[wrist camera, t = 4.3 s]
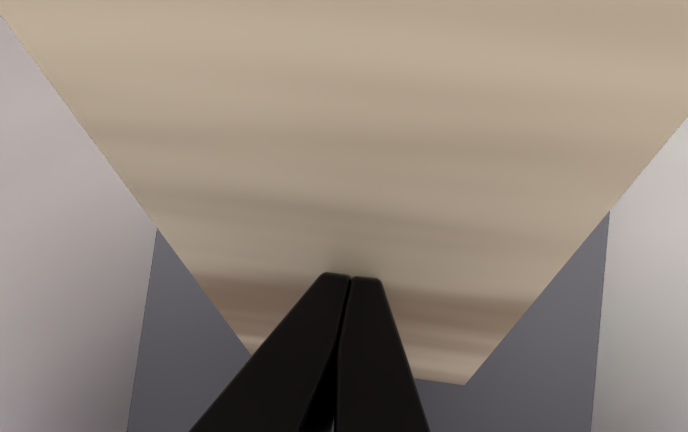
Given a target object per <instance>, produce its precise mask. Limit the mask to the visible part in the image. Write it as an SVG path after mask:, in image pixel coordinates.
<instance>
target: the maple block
mask: <svg viewBox="0 0 688 432" xmlns="http://www.w3.org/2000/svg"><path fill="white" fill-rule="evenodd" d="M0 15H1V17H2V18H3V20H4V21H5V22H6V24H7V25H8V26H9V28H10V29H11V30H12V32H13V33H14V34H15V36H16V37H17V39H18V40H19V41H20V43H21V44H22V45H23V47H24V48H25V49H26V51H27V52H28V53H29V55H30V56H31V57H32V59H33V60H34V62H35V63H36V64H37V66H38V67H39V68H40V70H41V71H42V72H43V74H44V75H45V76H46V78H47V79H48V81H49V82H50V83H51V85H52V86H53V87H54V89H55V90H56V91H57V93H58V94H59V95H60V97H61V98H62V100H63V101H64V102H65V104H66V105H67V106H68V108H69V109H70V110H71V112H72V113H73V114H74V116H75V117H76V118H77V120H78V121H79V123H80V124H81V125H82V127H83V128H84V129H85V131H86V132H87V133H88V135H89V136H90V137H91V139H92V140H93V142H94V143H95V144H96V146H97V147H98V148H99V150H100V151H101V152H102V154H103V155H104V156H105V158H106V159H107V160H108V162H109V163H110V165H111V166H112V167H113V169H114V170H115V171H116V173H117V174H118V175H119V177H120V178H121V179H122V181H123V182H124V184H125V185H126V186H127V188H128V189H129V190H130V192H131V193H132V194H133V196H134V197H135V198H136V200H137V201H138V203H139V204H140V205H141V207H142V208H143V209H144V211H145V212H146V213H147V215H148V216H149V217H150V219H151V220H152V221H153V223H154V224H155V226H156V227H157V228H158V230H159V231H160V232H161V234H162V235H163V236H164V238H165V239H166V240H167V242H168V243H169V245H170V246H171V247H172V249H173V250H174V251H175V253H176V254H177V255H178V257H179V258H180V259H181V261H182V262H183V263H184V265H185V266H186V268H187V269H188V270H189V272H190V273H191V274H192V276H193V277H194V278H195V280H196V281H197V282H198V284H199V285H200V287H201V288H202V289H203V291H204V292H205V293H206V295H207V296H208V297H209V299H210V300H211V301H212V303H213V304H214V306H215V307H216V308H217V310H218V311H219V312H220V314H221V315H222V316H223V318H224V319H225V320H226V322H227V323H228V324H229V326H230V327H231V329H232V330H233V331H234V333H235V334H236V335H237V337H238V338H239V339H240V341H241V342H242V343H243V345H244V346H245V348H246V349H247V350H248V352H249V353H250V354H251V355H253V354H254V352H255V351H256V350H257V349H258V348H259V346H260V345H261V344H262V343H263V342H264V340H265V339H266V338H267V337H268V336H269V335H270V333H271V332H272V331H273V330H274V329H275V327H276V326H277V325H278V324H279V323H280V322H281V320H282V319H283V318H284V317H285V316H286V314H287V313H288V312H289V311H290V310H291V308H292V307H293V306H294V305H295V304H296V303H297V301H298V300H299V299H300V298H301V297H302V295H303V294H304V293H305V292H306V291H307V289H308V288H309V287H310V286H311V285H312V284H313V282H314V281H315V280H316V279H317V278H318V277H319V275H321V274H322V273H324V272H329V273H337V274H345V275H348V276H349V277H350V278H351V279H352V278H353V277H355V276H361V277H369V278H376V279H379V280H380V281H381V282H382V284H383V287H384V290H385V293H386V296H387V299H388V302H389V305H390V308H391V311H392V314H393V317H394V320H395V323H396V326H397V329H398V332H399V335H400V338H401V341H402V344H403V347H404V350H405V353H406V356H407V359H408V362H409V365H410V368H411V371H412V374H413V377H414V378H417V379H424V380H431V381H438V382H445V383H452V384H459V385H465V384H466V383H467V382H468V380H469V379H470V378H471V377H472V376H473V374H474V373H475V372H476V371H477V370H478V368H479V367H480V366H481V365H482V364H483V362H484V361H485V360H486V359H487V358H488V356H489V355H490V354H491V353H492V352H493V350H494V349H495V348H496V347H497V345H498V344H499V343H500V342H501V341H502V339H503V338H504V337H505V336H506V335H507V333H508V332H509V331H510V330H511V329H512V327H513V326H514V325H515V324H516V323H517V321H518V320H519V319H520V318H521V317H522V315H523V314H524V313H525V312H526V311H527V309H528V308H529V307H530V306H531V305H532V303H533V302H534V301H535V300H536V299H537V297H538V296H539V295H540V294H541V293H542V291H543V290H544V289H545V288H546V287H547V285H548V284H549V283H550V282H551V280H552V279H553V278H554V277H555V276H556V274H557V273H558V272H559V271H560V270H561V268H562V267H563V266H564V265H565V264H566V262H567V261H568V260H569V259H570V258H571V256H572V255H573V254H574V253H575V252H576V250H577V249H578V248H579V247H580V246H581V244H582V243H583V242H584V241H585V240H586V238H587V237H588V236H589V235H590V234H591V232H592V231H593V230H594V229H595V228H596V226H597V225H598V224H599V223H600V222H601V220H602V219H603V218H604V217H605V215H606V214H607V213H608V212H609V211H610V209H611V208H612V207H613V206H614V205H615V203H616V202H617V201H618V200H619V199H620V197H621V196H622V195H623V194H624V193H625V191H626V190H627V189H628V188H629V187H630V185H631V184H632V183H633V182H634V181H635V179H636V178H637V177H638V176H639V175H640V173H641V172H642V171H643V170H644V169H645V167H646V166H647V165H648V164H649V163H650V161H651V160H652V159H653V158H654V157H655V155H656V154H657V153H658V152H659V150H660V149H661V148H662V147H663V146H664V144H665V143H666V142H667V141H668V140H669V138H670V137H671V136H672V135H673V134H674V132H675V131H676V130H677V129H678V128H679V126H680V125H681V124H682V123H683V122H684V120H685V119H686V118H687V117H688V0H0Z"/></svg>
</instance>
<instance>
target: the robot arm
mask: <svg viewBox="0 0 688 432" xmlns="http://www.w3.org/2000/svg"><path fill="white" fill-rule="evenodd" d="M333 422H334V432H432V431H431V428H430V425H429V422H428V419H427V416H426V413H425V410H424V407H423V404H422V401H421V398H420V395H419V392H418V389H417V386H416V383H415V380H414V377H413V374H412V371H411V368H410V365H409V362H408V359H407V356H406V353H405V350H404V347H403V344H402V341H401V338H400V335H399V332H398V329H397V326H396V323H395V320H394V317H393V314H392V311H391V308H390V305H389V302H388V299H387V296H386V293H385V290H384V287H383V284H382V282H381V281H380V280H379V279H376V278H369V277H361V276H355V277H353V278H352V279H351V278H350V277H349V276H348V275H345V274H337V273H329V272H324V273H322V274H321V275H319V277H318V278H317V279H316V280H315V281H314V282H313V284H312V285H311V286H310V287H309V288H308V289H307V291H306V292H305V293H304V294H303V295H302V297H301V298H300V299H299V300H298V301H297V303H296V304H295V305H294V306H293V307H292V308H291V310H290V311H289V312H288V313H287V314H286V316H285V317H284V318H283V319H282V320H281V322H280V323H279V324H278V325H277V326H276V327H275V329H274V330H273V331H272V332H271V333H270V335H269V336H268V337H267V338H266V339H265V340H264V342H263V343H262V344H261V345H260V346H259V348H258V349H257V350H256V351H255V352H254V354H253V355H252V356H251V357H250V358H249V359H248V361H247V362H246V363H245V364H244V365H243V367H242V368H241V369H240V370H239V371H238V372H237V374H236V375H235V376H234V377H233V378H232V380H231V381H230V382H229V383H228V384H227V386H226V387H225V388H224V389H223V390H222V391H221V393H220V394H219V395H218V396H217V397H216V399H215V400H214V401H213V402H212V403H211V405H210V406H209V407H208V408H207V409H206V410H205V412H204V413H203V414H202V415H201V416H200V418H199V419H198V420H197V421H196V422H195V423H194V425H193V426H192V427H191V428H190V429H189V431H188V432H331V431H332V427H333Z"/></svg>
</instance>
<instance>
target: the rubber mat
mask: <svg viewBox="0 0 688 432" xmlns="http://www.w3.org/2000/svg"><path fill="white" fill-rule="evenodd" d="M609 213H610V211H609V212H608V213H607V214H606V215H605V217H604V218H603V219H602V220H601V222H600V223H599V224H598V225H597V226H596V228H595V229H594V230H593V231H592V232H591V234H590V235H589V236H588V237H587V238H586V240H585V241H584V242H583V243H582V244H581V246H580V247H579V248H578V249H577V250H576V252H575V253H574V254H573V255H572V256H571V258H570V259H569V260H568V261H567V262H566V264H565V265H564V266H563V267H562V268H561V270H560V271H559V272H558V273H557V274H556V276H555V277H554V278H553V279H552V280H551V282H550V283H549V284H548V285H547V287H546V288H545V289H544V290H543V291H542V293H541V294H540V295H539V296H538V297H537V299H536V300H535V301H534V302H533V303H532V305H531V306H530V307H529V308H528V309H527V311H526V312H525V313H524V314H523V315H522V317H521V318H520V319H519V320H518V321H517V323H516V324H515V325H514V326H513V327H512V329H511V330H510V331H509V332H508V333H507V335H506V336H505V337H504V338H503V339H502V341H501V342H500V343H499V344H498V345H497V347H496V348H495V349H494V350H493V352H492V353H491V354H490V355H489V356H488V358H487V359H486V360H485V361H484V362H483V364H482V365H481V366H480V367H479V368H478V370H477V371H476V372H475V373H474V374H473V376H472V377H471V378H470V379H469V380H468V382H467V383H466V384H465V385H459V384H452V383H445V382H438V381H431V380H424V379H417V378H414V380H415V383H416V386H417V389H418V392H419V395H420V398H421V401H422V404H423V407H424V410H425V413H426V416H427V419H428V422H429V425H430V428H431V431H432V432H591V421H592V410H593V398H594V387H595V375H596V364H597V352H598V341H599V329H600V317H601V306H602V294H603V283H604V271H605V260H606V248H607V237H608V225H609ZM251 356H252V355H251V354H250V353H249V352H248V350H247V349H246V348H245V346H244V345H243V343H242V342H241V341H240V339H239V338H238V337H237V335H236V334H235V333H234V331H233V330H232V329H231V327H230V326H229V324H228V323H227V322H226V320H225V319H224V318H223V316H222V315H221V314H220V312H219V311H218V310H217V308H216V307H215V306H214V304H213V303H212V301H211V300H210V299H209V297H208V296H207V295H206V293H205V292H204V291H203V289H202V288H201V287H200V285H199V284H198V282H197V281H196V280H195V278H194V277H193V276H192V274H191V273H190V272H189V270H188V269H187V268H186V266H185V265H184V263H183V262H182V261H181V259H180V258H179V257H178V255H177V254H176V253H175V251H174V250H173V249H172V247H171V246H170V245H169V243H168V242H167V240H166V239H165V238H164V236H163V235H162V234H161V232H160V231H159V230H158V228H157V233H156V239H155V246H154V253H153V259H152V266H151V273H150V279H149V286H148V293H147V299H146V306H145V313H144V319H143V326H142V333H141V339H140V346H139V353H138V359H137V366H136V373H135V379H134V386H133V392H132V399H131V406H130V412H129V419H128V426H127V432H188V431H189V429H190V428H191V427H192V426H193V425H194V423H195V422H196V421H197V420H198V419H199V418H200V416H201V415H202V414H203V413H204V412H205V410H206V409H207V408H208V407H209V406H210V405H211V403H212V402H213V401H214V400H215V399H216V397H217V396H218V395H219V394H220V393H221V391H222V390H223V389H224V388H225V387H226V386H227V384H228V383H229V382H230V381H231V380H232V378H233V377H234V376H235V375H236V374H237V372H238V371H239V370H240V369H241V368H242V367H243V365H244V364H245V363H246V362H247V361H248V359H249V358H250V357H251ZM331 432H334V422H333V427H332V431H331Z"/></svg>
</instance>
